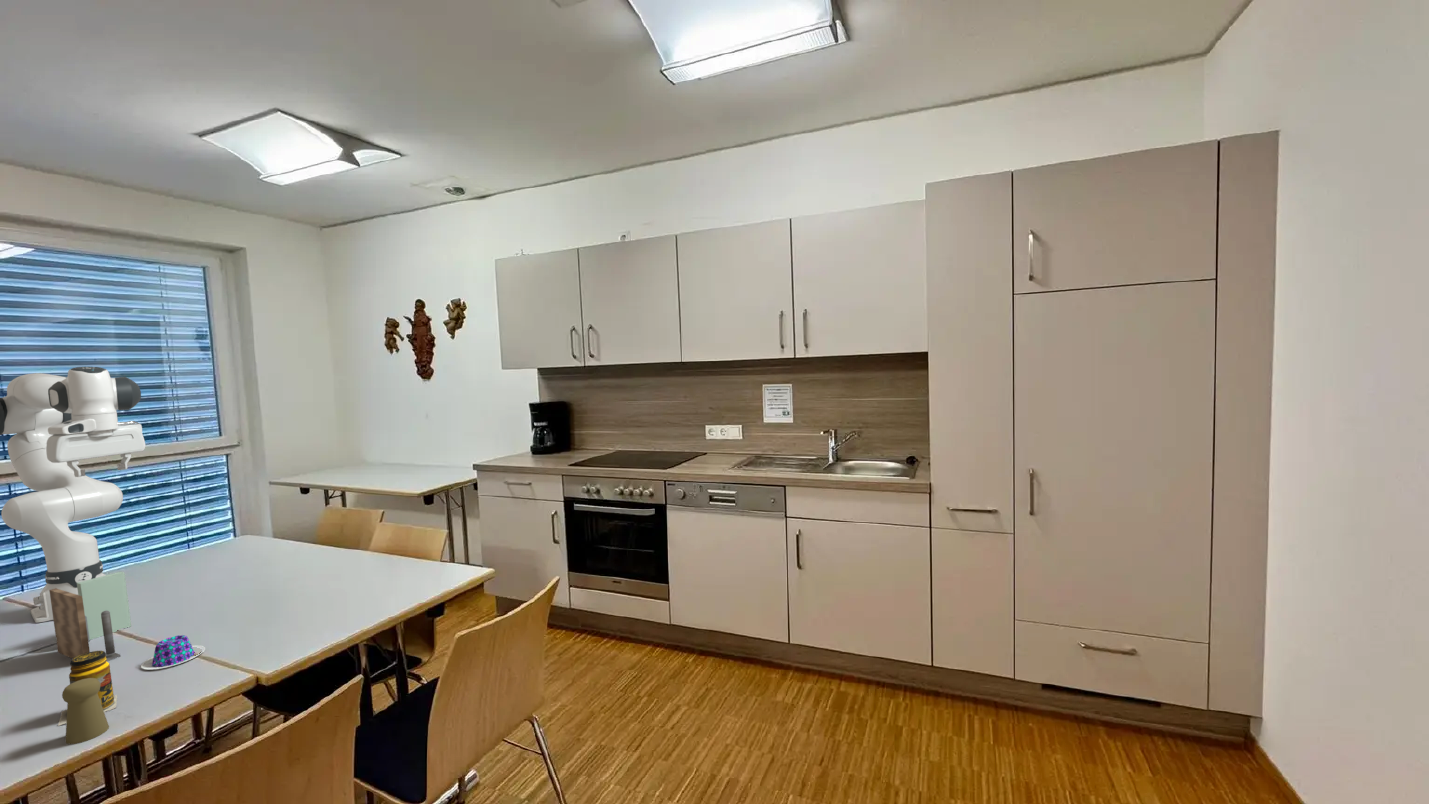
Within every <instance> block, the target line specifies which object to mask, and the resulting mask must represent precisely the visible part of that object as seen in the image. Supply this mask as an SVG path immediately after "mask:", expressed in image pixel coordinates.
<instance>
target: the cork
mask: <svg viewBox="0 0 1429 804" xmlns="http://www.w3.org/2000/svg"><path fill="white" fill-rule="evenodd" d="M99 690H100V682H99V681H98V680H97V679H96V678H87V679H82V680H79V681H76V682H74V683H72V684H70V683H69V684H68V685H66V687H64V689H63V691H62V692H61V693H62V694H61V697H62V699H63V702H65V703H67V706H66V707H67V709H66V710H67V722H66V724H65V741H64V742H65V744H67V745H76V744H81V743H84V742H87V741H90V740H93V739H95V738H98V737H99V736H101V735H103V734H105V733H106V732H107V731H108V730H109V728H110V726H109V722H108V719H107V716H106V714H105V712H104V711H103V708H102V705H101V702H100V699H99V696H98V694H97V693H98V692H99Z"/></svg>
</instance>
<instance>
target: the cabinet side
mask: <svg viewBox="0 0 1429 804" xmlns="http://www.w3.org/2000/svg"><path fill="white" fill-rule="evenodd" d="M49 591H50V598H51V606H52V613H53V620H52V621H53V625H54V634H55V642H56V647H57V653H59V655H64V656H65V657H68V658H71V660H72V659H74V658H75V657H77V656H79V655H82V654H85V653H88V652H91V650H90V643H89V642H90V641H89V642H88V635H87V628H86V620H85V613H84V605H83V598H82V596H80V595H76V594H73V593H70V592H67V591H63V590H60V589H57V588H55V589H51V590H49ZM101 619H102V626H103V634H104V636H103V640H104V647H105V649H104V650H105V653H106V659H107V660H106V661H107V662H109V661H112V660H115V659H118V658H120V657H121V653H117V652H116V647H115V640H114V634H113V633H114V632H112V624H111V617H110V612H109V611H107V610H106V611H103V612H102V613H101ZM117 657H118V658H117Z"/></svg>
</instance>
